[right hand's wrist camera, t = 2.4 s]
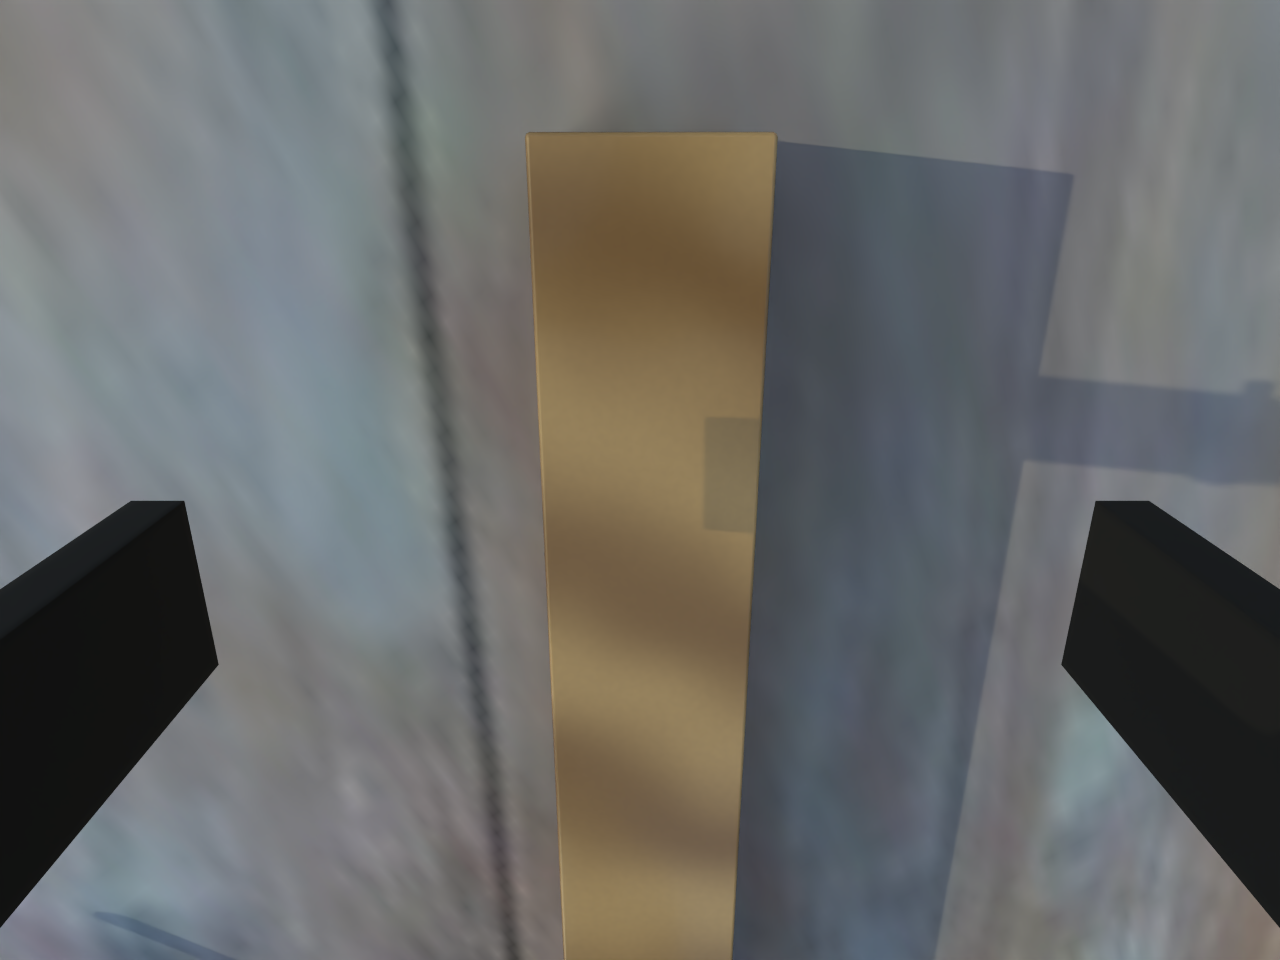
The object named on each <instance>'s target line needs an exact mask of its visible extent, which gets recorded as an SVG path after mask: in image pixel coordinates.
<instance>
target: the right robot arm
mask: <svg viewBox="0 0 1280 960" xmlns="http://www.w3.org/2000/svg"><path fill="white" fill-rule="evenodd" d="M218 665H219V664H218V660H217V655H216V650H215V645H214V640H213V636H212V631H211V626H210V621H209V617H208V612H207V607H206V602H205V598H204V593H203V588H202V583H201V578H200V574H199V569H198V564H197V559H196V555H195V550H194V545H193V540H192V535H191V531H190V526H189V521H188V516H187V512H186V507H185V502H184V501H130V502H129V503H127V504H126V505H124V506H123V507H121V508H120V509H118V510H117V511H115V512H114V513H112V514H111V515H110V516H108V517H107V518H105V519H104V520H102V521H101V522H99V523H98V524H96V525H95V526H93V527H92V528H90V529H89V530H87V531H86V532H84V533H83V534H81V535H80V536H78V537H77V538H76V539H74V540H73V541H71V542H70V543H68V544H67V545H65V546H64V547H62V548H61V549H59V550H58V551H56V552H55V553H53V554H52V555H50V556H49V557H47V558H46V559H44V560H43V561H41V562H40V563H39V564H37V565H36V566H34V567H33V568H31V569H30V570H28V571H27V572H25V573H24V574H22V575H21V576H19V577H18V578H16V579H15V580H13V581H12V582H10V583H9V584H7V585H6V586H5V587H3V588H2V589H0V927H1V926H2V925H3V924H4V923H5V921H6V920H7V919H8V918H9V917H10V915H11V914H12V913H13V912H14V911H15V909H16V908H17V907H18V906H19V905H20V903H21V902H22V901H23V900H24V898H25V897H26V896H27V895H28V894H29V892H30V891H31V890H32V889H33V888H34V886H35V885H36V884H37V883H38V882H39V880H40V879H41V878H42V877H43V876H44V874H45V873H46V872H47V871H48V870H49V868H50V867H51V866H52V865H53V864H54V862H55V861H56V860H57V859H58V858H59V856H60V855H61V854H62V853H63V851H64V850H65V849H66V848H67V847H68V845H69V844H70V843H71V842H72V841H73V839H74V838H75V837H76V836H77V835H78V833H79V832H80V831H81V830H82V829H83V827H84V826H85V825H86V824H87V823H88V821H89V820H90V819H91V818H92V817H93V815H94V814H95V813H96V812H97V811H98V809H99V808H100V807H101V806H102V805H103V803H104V802H105V801H106V800H107V798H108V797H109V796H110V795H111V794H112V792H113V791H114V790H115V789H116V788H117V786H118V785H119V784H120V783H121V782H122V780H123V779H124V778H125V777H126V776H127V774H128V773H129V772H130V771H131V770H132V768H133V767H134V766H135V765H136V764H137V762H138V761H139V760H140V759H141V758H142V756H143V755H144V754H145V753H146V751H147V750H148V749H149V748H150V747H151V745H152V744H153V743H154V742H155V741H156V739H157V738H158V737H159V736H160V735H161V733H162V732H163V731H164V730H165V729H166V727H167V726H168V725H169V724H170V723H171V721H172V720H173V719H174V718H175V717H176V715H177V714H178V713H179V712H180V711H181V709H182V708H183V707H184V706H185V705H186V703H187V702H188V701H189V700H190V698H191V697H192V696H193V695H194V694H195V692H196V691H197V690H198V689H199V688H200V686H201V685H202V684H203V683H204V682H205V680H206V679H207V678H208V677H209V676H210V674H211V673H212V672H213V671H214V670H215V668H216V667H217V666H218ZM1061 665H1062V666H1063V667H1064V668H1065V670H1066V671H1067V672H1068V673H1069V674H1070V676H1071V677H1072V678H1073V679H1074V680H1075V682H1076V683H1077V684H1078V685H1079V686H1080V688H1081V689H1082V690H1083V691H1084V692H1085V694H1086V695H1087V696H1088V697H1089V698H1090V700H1091V701H1092V702H1093V703H1094V705H1095V706H1096V707H1097V708H1098V709H1099V711H1100V712H1101V713H1102V714H1103V715H1104V717H1105V718H1106V719H1107V720H1108V721H1109V723H1110V724H1111V725H1112V726H1113V727H1114V729H1115V730H1116V731H1117V732H1118V733H1119V735H1120V736H1121V737H1122V738H1123V739H1124V741H1125V742H1126V743H1127V744H1128V745H1129V747H1130V748H1131V749H1132V750H1133V751H1134V753H1135V754H1136V755H1137V756H1138V758H1139V759H1140V760H1141V761H1142V762H1143V764H1144V765H1145V766H1146V767H1147V768H1148V770H1149V771H1150V772H1151V773H1152V774H1153V776H1154V777H1155V778H1156V779H1157V780H1158V782H1159V783H1160V784H1161V785H1162V786H1163V788H1164V789H1165V790H1166V791H1167V792H1168V794H1169V795H1170V796H1171V797H1172V798H1173V800H1174V801H1175V802H1176V803H1177V805H1178V806H1179V807H1180V808H1181V809H1182V811H1183V812H1184V813H1185V814H1186V815H1187V817H1188V818H1189V819H1190V820H1191V821H1192V823H1193V824H1194V825H1195V826H1196V827H1197V829H1198V830H1199V831H1200V832H1201V833H1202V835H1203V836H1204V837H1205V838H1206V839H1207V841H1208V842H1209V843H1210V844H1211V845H1212V847H1213V848H1214V849H1215V850H1216V851H1217V853H1218V854H1219V855H1220V856H1221V858H1222V859H1223V860H1224V861H1225V862H1226V864H1227V865H1228V866H1229V867H1230V868H1231V870H1232V871H1233V872H1234V873H1235V874H1236V876H1237V877H1238V878H1239V879H1240V880H1241V882H1242V883H1243V884H1244V885H1245V886H1246V888H1247V889H1248V890H1249V891H1250V892H1251V894H1252V895H1253V896H1254V897H1255V898H1256V900H1257V901H1258V902H1259V903H1260V905H1261V906H1262V907H1263V908H1264V909H1265V911H1266V912H1267V913H1268V914H1269V915H1270V917H1271V918H1272V919H1273V920H1274V921H1275V923H1276V924H1277V925H1278V926H1279V927H1280V589H1278V588H1277V587H1275V586H1274V585H1273V584H1271V583H1270V582H1268V581H1267V580H1265V579H1264V578H1262V577H1261V576H1259V575H1258V574H1256V573H1255V572H1253V571H1252V570H1250V569H1249V568H1247V567H1246V566H1244V565H1243V564H1241V563H1240V562H1239V561H1237V560H1236V559H1234V558H1233V557H1231V556H1230V555H1228V554H1227V553H1225V552H1224V551H1222V550H1221V549H1219V548H1218V547H1216V546H1215V545H1213V544H1212V543H1210V542H1209V541H1207V540H1206V539H1204V538H1203V537H1202V536H1200V535H1199V534H1197V533H1196V532H1194V531H1193V530H1191V529H1190V528H1188V527H1187V526H1185V525H1184V524H1182V523H1181V522H1179V521H1178V520H1176V519H1175V518H1173V517H1172V516H1170V515H1169V514H1168V513H1166V512H1165V511H1163V510H1162V509H1160V508H1159V507H1157V506H1156V505H1154V504H1153V503H1151V502H1150V501H1096V502H1095V507H1094V512H1093V516H1092V521H1091V526H1090V531H1089V535H1088V540H1087V545H1086V550H1085V555H1084V559H1083V564H1082V569H1081V574H1080V578H1079V583H1078V588H1077V593H1076V598H1075V602H1074V607H1073V612H1072V617H1071V621H1070V626H1069V631H1068V636H1067V640H1066V645H1065V650H1064V655H1063V660H1062V664H1061Z"/></svg>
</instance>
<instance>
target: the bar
mask: <svg viewBox="0 0 1280 960" xmlns="http://www.w3.org/2000/svg"><path fill="white" fill-rule="evenodd" d="M777 140H778V137H777V134H776V133H774V132H529V133H527V134H526V136H525V146H526V167H527V189H528V210H529V231H530V252H531V273H532V294H533V316H534V337H535V358H536V379H537V400H538V422H539V443H540V464H541V485H542V506H543V528H544V549H545V570H546V591H547V612H548V634H549V655H550V676H551V697H552V718H553V739H554V761H555V782H556V803H557V824H558V845H559V867H560V888H561V909H562V930H563V951H564V960H732V957H733V939H734V920H735V902H736V884H737V866H738V848H739V830H740V811H741V793H742V775H743V757H744V739H745V721H746V703H747V684H748V666H749V648H750V630H751V612H752V594H753V575H754V557H755V539H756V521H757V503H758V485H759V466H760V448H761V430H762V412H763V394H764V376H765V358H766V339H767V321H768V303H769V285H770V267H771V249H772V230H773V212H774V194H775V176H776V158H777Z"/></svg>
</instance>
